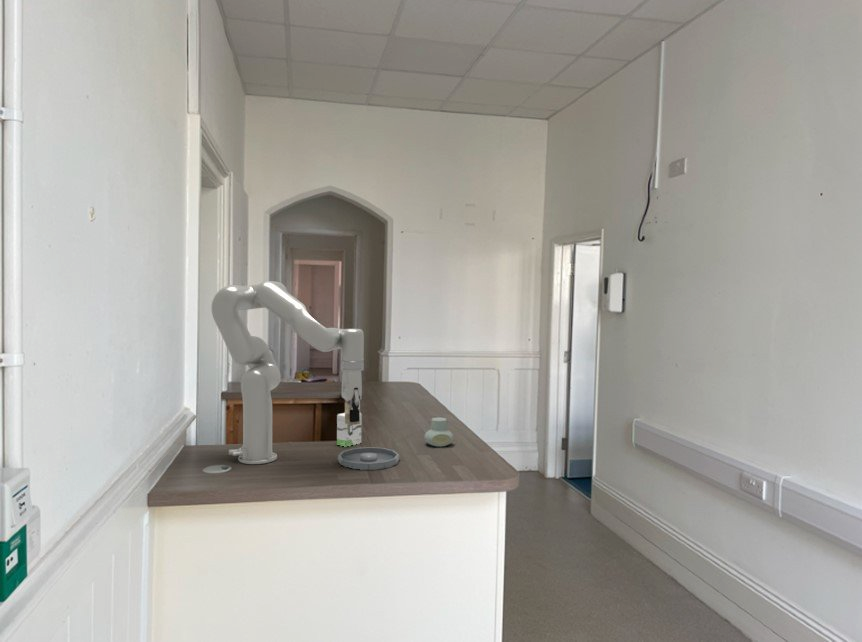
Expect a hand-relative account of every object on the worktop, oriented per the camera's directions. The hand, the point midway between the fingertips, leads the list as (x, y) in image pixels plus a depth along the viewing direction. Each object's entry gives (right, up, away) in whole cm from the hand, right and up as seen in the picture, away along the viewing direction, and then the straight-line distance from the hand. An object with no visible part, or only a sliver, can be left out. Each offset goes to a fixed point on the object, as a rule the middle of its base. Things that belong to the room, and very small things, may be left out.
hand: (352, 419), depth 195 cm
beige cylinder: (0, -1, 0) cm, 1 cm away
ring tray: (+5, -15, +3) cm, 16 cm away
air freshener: (+29, -14, +26) cm, 42 cm away
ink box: (-5, -14, +25) cm, 29 cm away
